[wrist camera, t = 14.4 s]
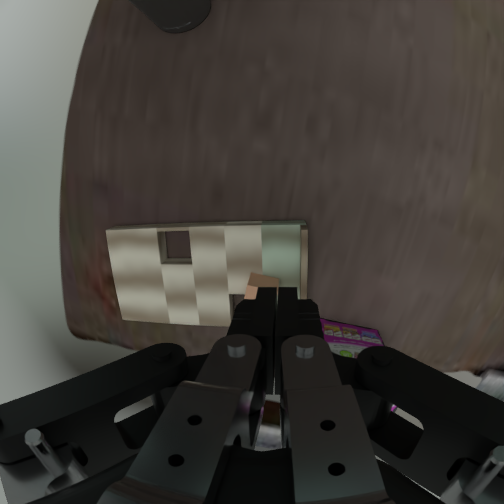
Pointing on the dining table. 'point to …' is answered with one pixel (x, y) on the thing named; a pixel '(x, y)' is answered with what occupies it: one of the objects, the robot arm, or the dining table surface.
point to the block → (259, 284)
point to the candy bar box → (350, 339)
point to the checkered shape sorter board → (202, 267)
